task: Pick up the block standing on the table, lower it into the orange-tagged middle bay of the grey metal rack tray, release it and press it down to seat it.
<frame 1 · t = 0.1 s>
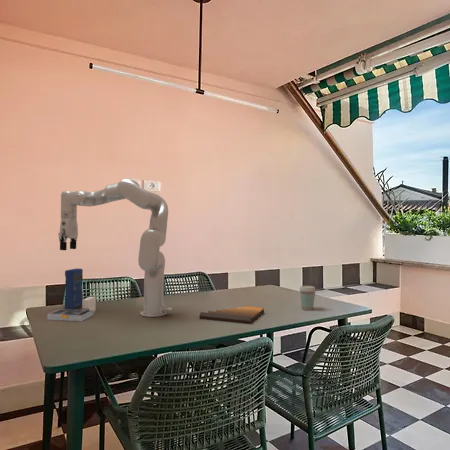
hand: (68, 249, 193), 31 cm above the table, tool pointing down, fingers open, 9 cm apart
rack: (70, 317, 179), on the table
electronic device: (73, 307, 201), on the table
block: (88, 312, 190), on the table
coffee cup: (307, 309, 203), on the table
pan flute: (232, 317, 187), on the table
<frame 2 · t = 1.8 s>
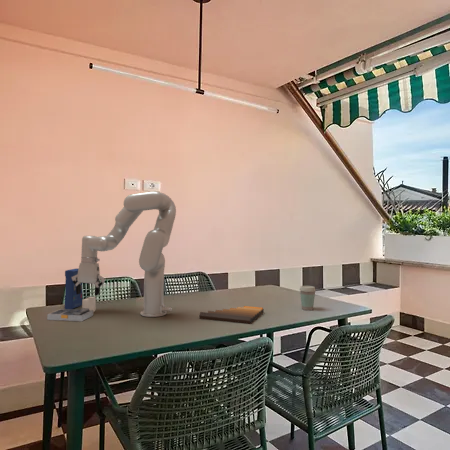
hand: (87, 294, 190), 9 cm above the table, tool pointing down, fingers open, 9 cm apart
nothing on the table moved.
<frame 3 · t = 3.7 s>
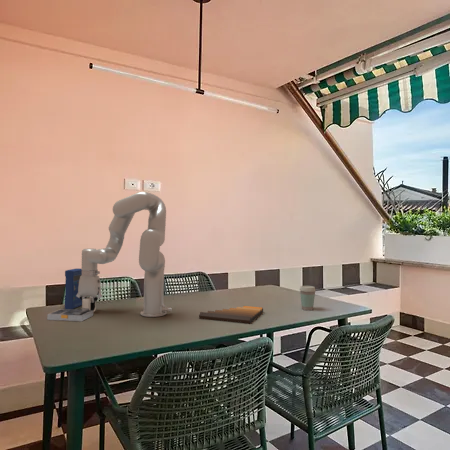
hand: (89, 309, 190), 1 cm above the table, tool pointing down, fingers closed on block, 3 cm apart
block: (88, 312, 190), on the table, touching gripper
everything else where it was.
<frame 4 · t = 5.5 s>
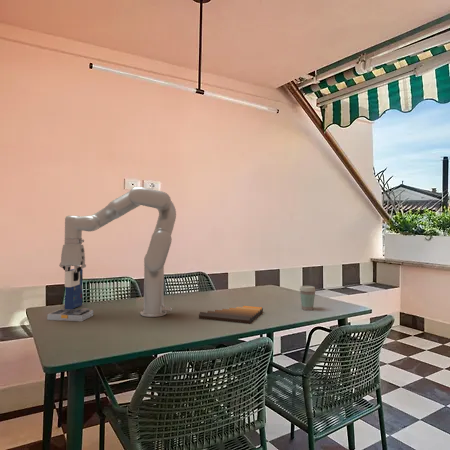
hand: (72, 280, 180), 17 cm above the table, tool pointing down, fingers closed on block, 2 cm apart
block: (72, 285, 180), point 15 cm above the table, touching gripper
everything else where it was.
when the fingers open (3 cm above the table, at t = 7.8 s): block stays where it is, resting on rack.
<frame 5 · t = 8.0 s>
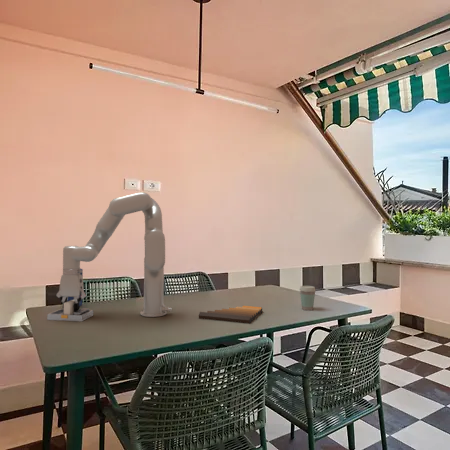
hand: (71, 310, 179), 3 cm above the table, tool pointing down, fingers open, 4 cm apart
block: (71, 316, 179), point 1 cm above the table, touching rack
everything else where it was.
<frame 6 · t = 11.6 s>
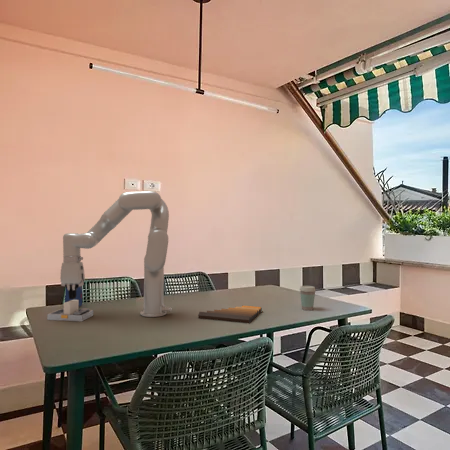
hand: (72, 298, 179), 9 cm above the table, tool pointing down, fingers closed
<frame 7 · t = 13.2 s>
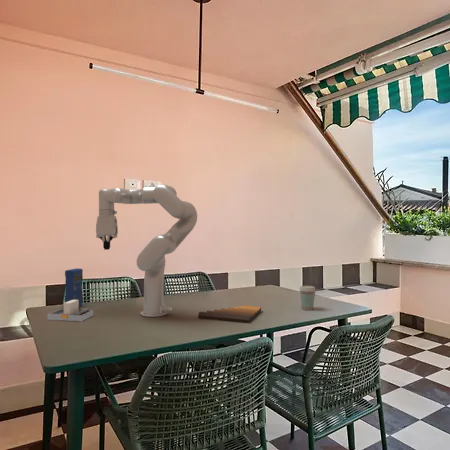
hand: (106, 249, 194), 31 cm above the table, tool pointing down, fingers closed
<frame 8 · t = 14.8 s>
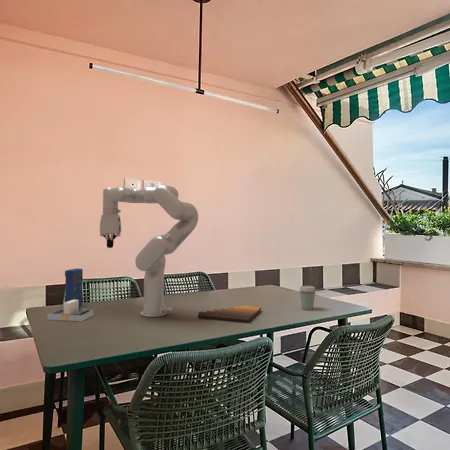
hand: (110, 247, 195), 32 cm above the table, tool pointing down, fingers closed
at the end: block 0.1 cm off-centre on the rack, point 0.6 cm above the rack's base; block tilted 0°; the gripper is holding nothing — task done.
